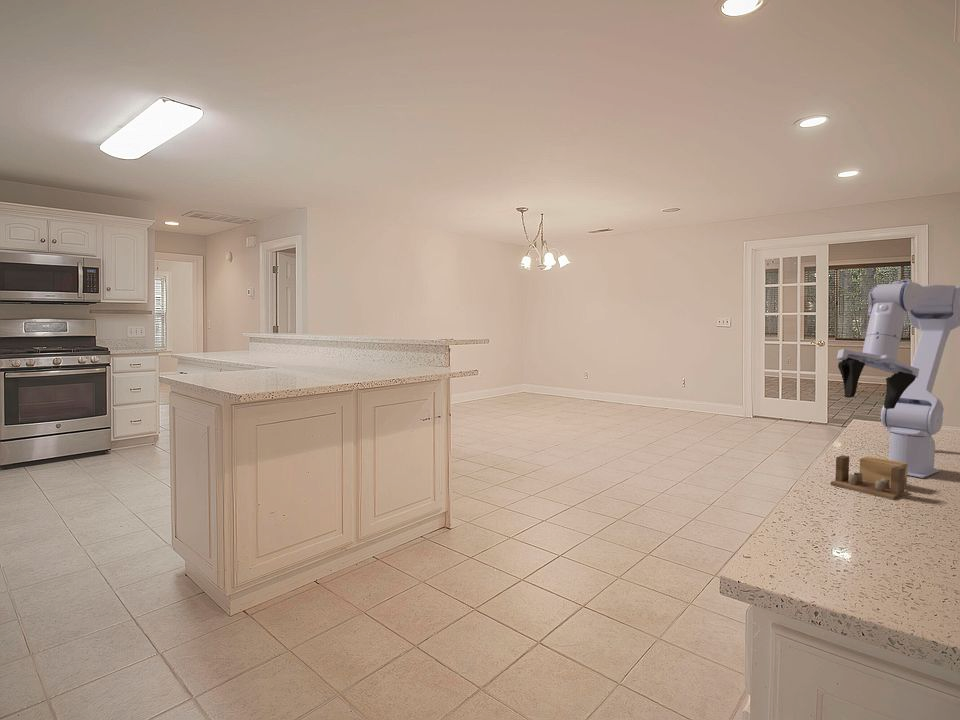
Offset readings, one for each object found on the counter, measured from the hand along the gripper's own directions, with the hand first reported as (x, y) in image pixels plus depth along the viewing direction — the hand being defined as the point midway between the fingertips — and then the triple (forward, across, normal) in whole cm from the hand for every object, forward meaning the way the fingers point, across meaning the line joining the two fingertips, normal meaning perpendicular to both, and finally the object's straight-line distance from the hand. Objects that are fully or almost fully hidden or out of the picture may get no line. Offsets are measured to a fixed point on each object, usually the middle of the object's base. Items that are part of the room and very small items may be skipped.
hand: (869, 402), depth 105 cm
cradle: (+16, +6, +5) cm, 18 cm away
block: (+14, +11, +9) cm, 20 cm away
